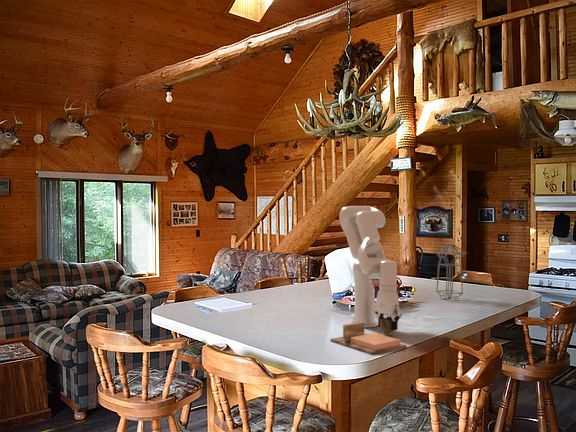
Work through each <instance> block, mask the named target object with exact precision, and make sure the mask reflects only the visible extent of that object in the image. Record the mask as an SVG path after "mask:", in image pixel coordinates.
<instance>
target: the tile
mask: <svg viewBox="0 0 576 432" xmlns="http://www.w3.org/2000/svg"><path fill="white" fill-rule="evenodd" d="M366 334H367V335H362V336H356V337H351V343H352V344H356V345H359V346H362V347H365V348H368V349H372V350H380V349H385V348H389V347H394V346H399V345H400V343H401V339H399V338H395V337H391V336H385V335H384V334H380V333H379V334H377V332H373V333H366Z"/></svg>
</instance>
